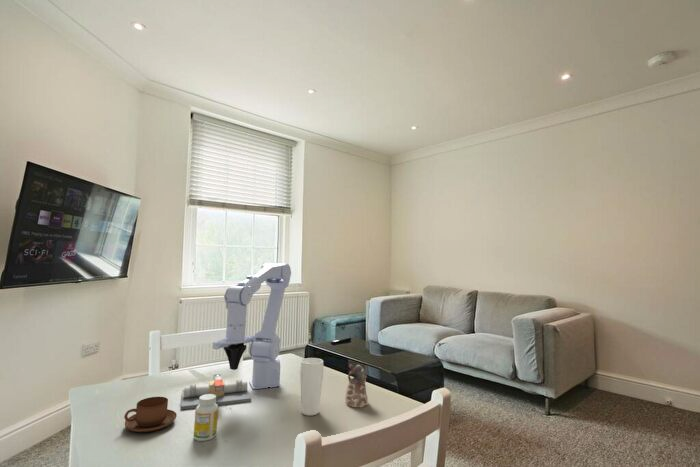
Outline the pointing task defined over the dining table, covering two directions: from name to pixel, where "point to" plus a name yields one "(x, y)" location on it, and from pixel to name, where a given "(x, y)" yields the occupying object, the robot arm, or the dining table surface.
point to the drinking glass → (311, 385)
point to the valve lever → (218, 383)
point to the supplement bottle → (206, 418)
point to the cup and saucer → (150, 415)
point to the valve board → (218, 400)
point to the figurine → (356, 387)
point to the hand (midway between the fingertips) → (233, 368)
